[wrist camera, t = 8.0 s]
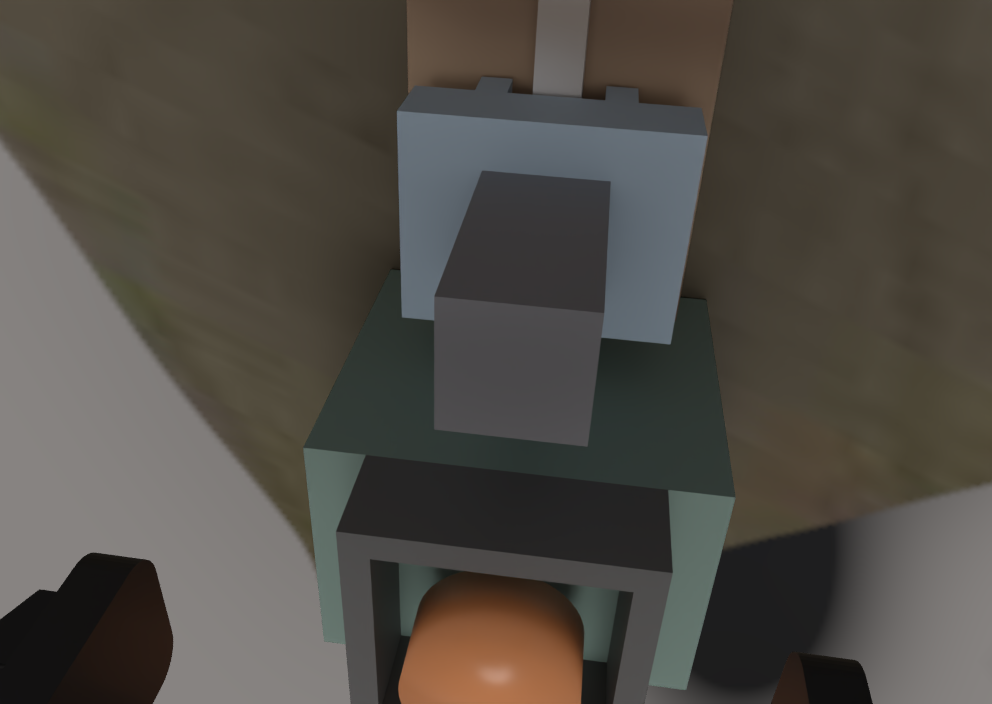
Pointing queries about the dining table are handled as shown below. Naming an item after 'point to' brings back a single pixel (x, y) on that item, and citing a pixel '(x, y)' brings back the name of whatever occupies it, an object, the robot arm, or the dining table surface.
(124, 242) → the dining table surface
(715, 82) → the rail stand
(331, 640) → the cabinet
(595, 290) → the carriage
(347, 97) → the dining table surface
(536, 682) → the button
